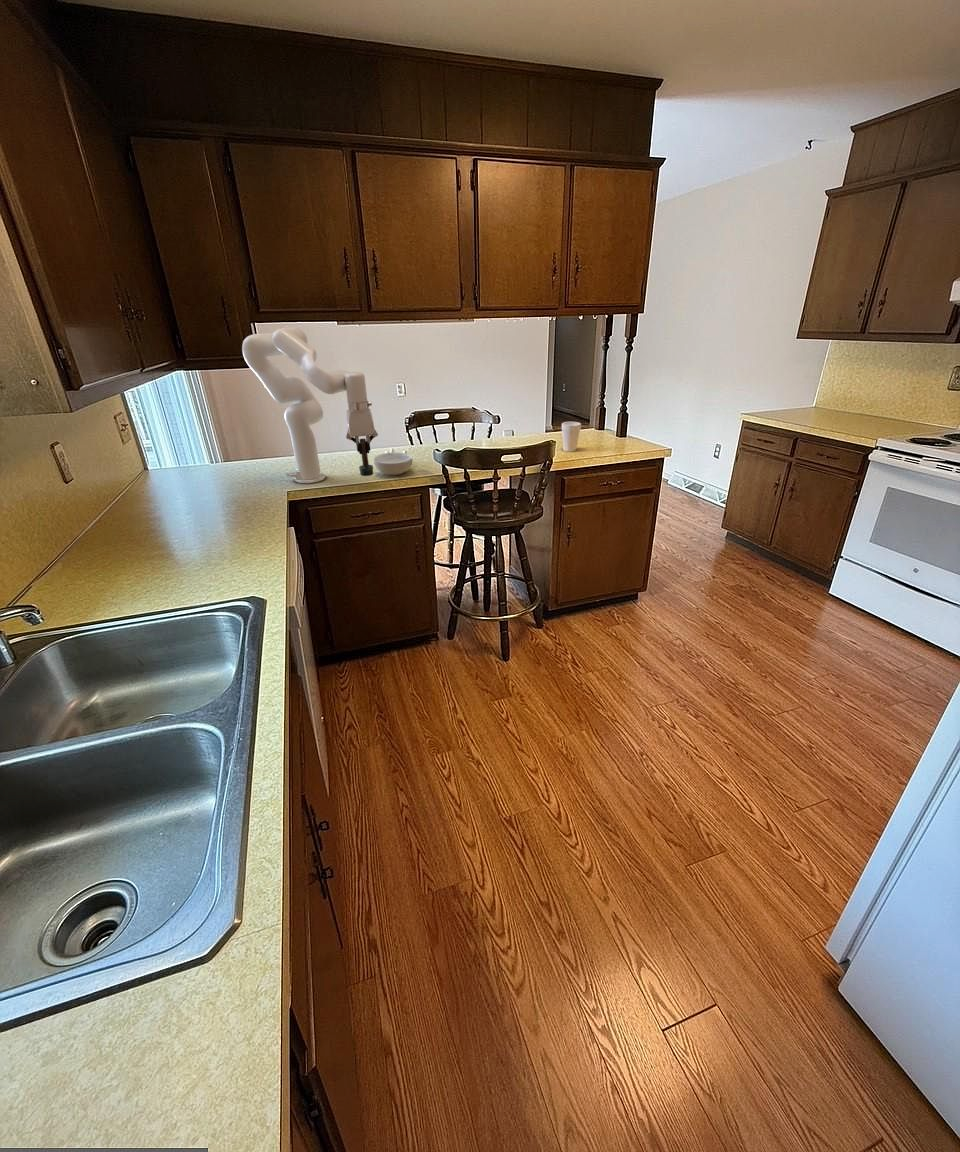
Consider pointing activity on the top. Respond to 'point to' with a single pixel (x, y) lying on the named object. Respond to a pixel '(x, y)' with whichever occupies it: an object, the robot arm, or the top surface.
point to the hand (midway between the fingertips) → (364, 452)
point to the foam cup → (570, 435)
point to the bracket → (394, 452)
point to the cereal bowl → (393, 463)
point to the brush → (365, 460)
